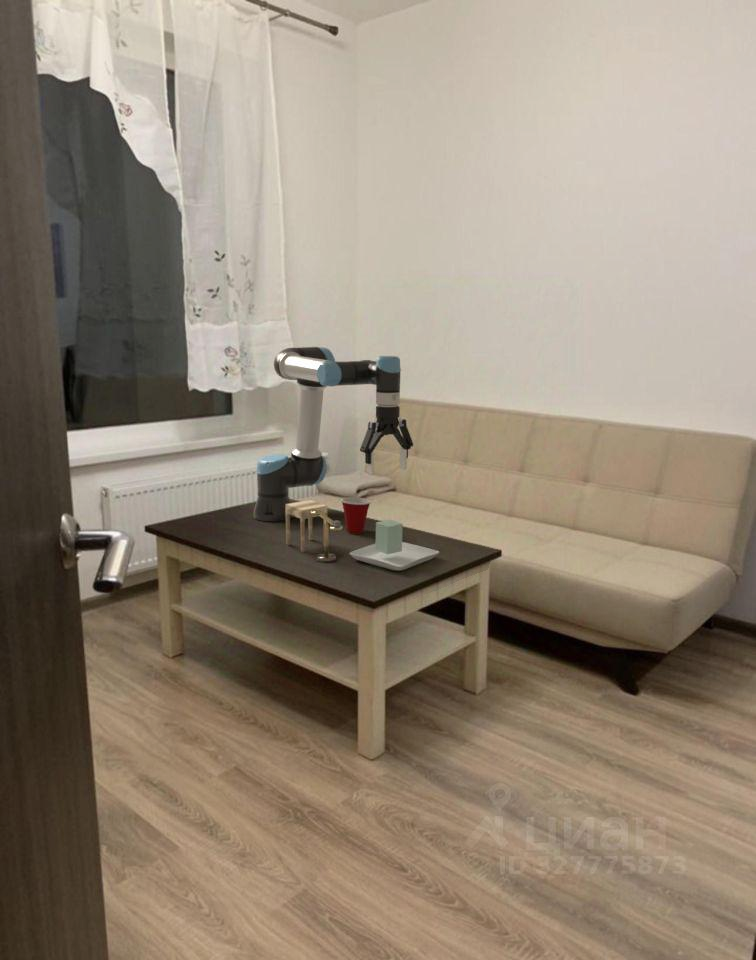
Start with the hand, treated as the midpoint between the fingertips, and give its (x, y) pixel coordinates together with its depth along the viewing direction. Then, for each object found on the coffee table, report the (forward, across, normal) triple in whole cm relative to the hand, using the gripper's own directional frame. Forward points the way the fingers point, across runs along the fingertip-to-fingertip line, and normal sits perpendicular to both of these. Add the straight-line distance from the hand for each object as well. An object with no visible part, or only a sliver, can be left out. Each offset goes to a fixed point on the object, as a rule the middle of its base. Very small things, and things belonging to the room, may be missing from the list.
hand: (386, 471), depth 243 cm
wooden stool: (+27, -18, +20) cm, 38 cm away
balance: (+27, -21, +4) cm, 34 cm away
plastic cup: (+27, +5, +23) cm, 36 cm away
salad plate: (+28, -4, -9) cm, 29 cm away
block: (+24, -5, -7) cm, 25 cm away
